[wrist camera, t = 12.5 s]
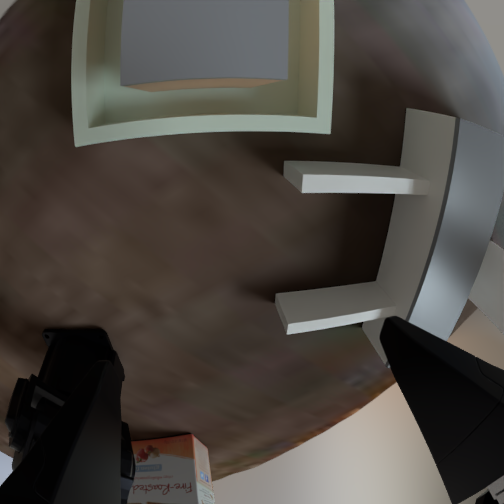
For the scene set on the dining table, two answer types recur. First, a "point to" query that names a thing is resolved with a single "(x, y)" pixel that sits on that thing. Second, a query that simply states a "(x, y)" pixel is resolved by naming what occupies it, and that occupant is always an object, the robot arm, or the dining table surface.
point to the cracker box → (171, 472)
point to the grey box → (203, 44)
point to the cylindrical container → (491, 286)
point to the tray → (203, 99)
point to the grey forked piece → (411, 229)
